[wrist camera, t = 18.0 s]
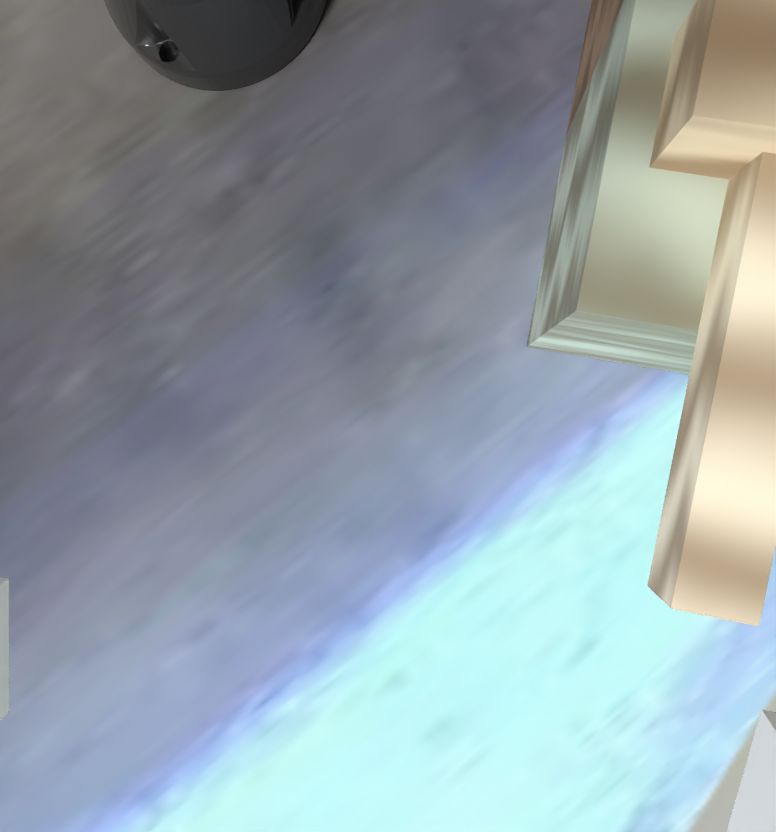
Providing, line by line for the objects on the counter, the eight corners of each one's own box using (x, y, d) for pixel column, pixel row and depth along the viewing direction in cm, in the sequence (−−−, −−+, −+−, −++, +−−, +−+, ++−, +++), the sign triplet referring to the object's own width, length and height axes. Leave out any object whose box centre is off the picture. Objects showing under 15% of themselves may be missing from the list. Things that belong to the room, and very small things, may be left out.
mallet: (805, 617, 27) (884, 666, 22) (571, 570, 28) (596, 607, 23) (919, 70, 26) (1028, -7, 21) (674, 37, 27) (724, -44, 22)
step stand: (711, 378, 45) (1206, 338, 16) (526, 346, 46) (656, 251, 17) (798, -59, 44) (1512, -1008, 14) (607, -82, 45) (902, -1009, 15)
